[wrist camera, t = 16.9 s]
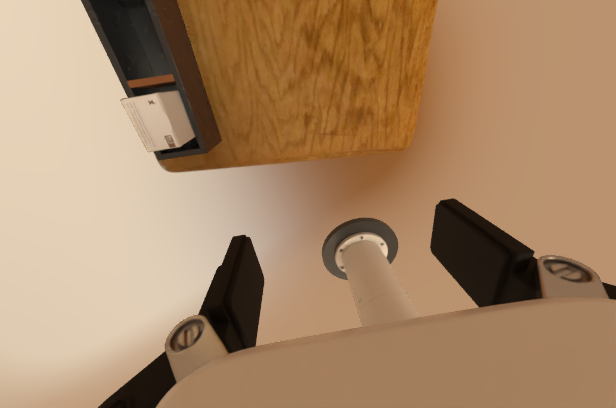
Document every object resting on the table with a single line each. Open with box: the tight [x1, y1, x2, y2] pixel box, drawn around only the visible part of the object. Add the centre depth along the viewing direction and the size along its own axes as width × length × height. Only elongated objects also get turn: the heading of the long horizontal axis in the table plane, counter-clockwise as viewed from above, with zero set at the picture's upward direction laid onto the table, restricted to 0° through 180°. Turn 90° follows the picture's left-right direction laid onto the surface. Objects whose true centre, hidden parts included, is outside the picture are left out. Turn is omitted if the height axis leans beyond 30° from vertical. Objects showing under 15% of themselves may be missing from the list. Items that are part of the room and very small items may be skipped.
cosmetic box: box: [120, 91, 196, 152], centre depth 30 cm, size 6×4×12 cm
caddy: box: [81, 0, 222, 160], centre depth 30 cm, size 19×7×8 cm, turn 8°
